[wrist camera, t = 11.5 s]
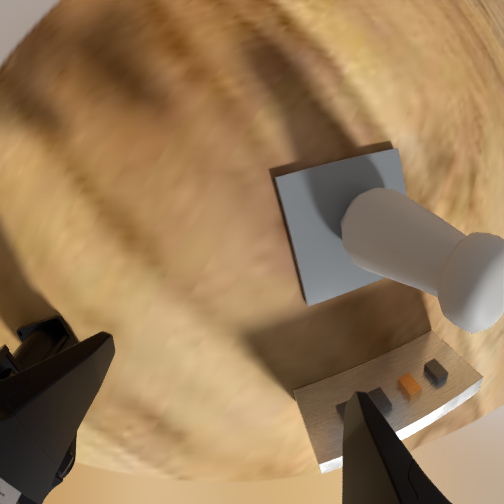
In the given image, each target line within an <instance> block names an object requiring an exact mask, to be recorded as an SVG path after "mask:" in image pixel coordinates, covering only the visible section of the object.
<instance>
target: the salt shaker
mask: <svg viewBox="0 0 504 504" xmlns="http://www.w3.org/2000/svg"><path fill="white" fill-rule="evenodd" d="M340 225H341V230H342V241H343V247H344V248H345V250H346V252H347V253H348V255H349V257H350V259H351V260H352V261H353V263H354V264H356V265H358V266H360V267H361V268H363V269H365V270H367V271H369V272H372V273H375V274H378V275H380V276H383V277H386V278H389V279H392V280H395V281H397V282H400V283H403V284H406V285H408V286H411V287H414V288H417V289H419V290H422V291H424V292H427V293H429V294H431V295H434V296H436V297H438V300H439V303H440V307H441V310H442V312H443V314H444V316H445V317H446V318H447V319H448V320H449V321H451V322H452V323H453V324H455V325H456V326H458V327H460V328H461V329H463V330H465V331H467V332H470V333H476V332H479V331H483V330H486V329H488V328H490V327H491V326H492V325H493V324H494V323H496V322H497V321H498V320H499V319H500V317H501V316H502V314H503V313H504V239H502V238H501V237H499V236H497V235H493V234H489V233H478V232H476V233H471V234H469V235H468V236H466V235H464V234H463V233H462V232H460V231H459V230H457V229H456V228H455V227H453V226H452V225H450V224H449V223H447V222H446V221H444V220H443V219H441V218H440V217H438V216H437V215H435V214H434V213H432V212H431V211H429V210H428V209H426V208H424V207H423V206H421V205H420V204H418V203H416V202H415V201H413V200H411V199H410V198H408V197H407V196H405V195H403V194H401V193H400V192H398V191H396V190H395V189H387V188H374V189H371V190H369V191H366V192H364V193H361V194H359V195H358V196H357V197H355V198H354V199H353V200H352V201H351V203H350V204H349V206H348V208H347V210H346V212H345V214H344V215H343V217H342V219H341V221H340Z"/></svg>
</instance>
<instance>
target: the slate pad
mask: <svg viewBox="0 0 504 504" xmlns="http://www.w3.org/2000/svg"><path fill="white" fill-rule="evenodd" d="M274 179H275V183H276V187H277V190H278V194H279V198H280V201H281V205H282V209H283V213H284V216H285V220H286V224H287V228H288V232H289V236H290V240H291V243H292V247H293V251H294V255H295V259H296V264H297V268H298V272H299V276H300V280H301V284H302V288H303V293H304V297H305V301H306V304H307V306H308V307H309V306H311V305H314V304H317V303H320V302H323V301H325V300H328V299H331V298H334V297H336V296H339V295H342V294H345V293H347V292H350V291H353V290H355V289H358V288H360V287H363V286H365V285H368V284H371V283H373V282H376V281H378V280H381V279H383V278H386V277H383V276H380V275H378V274H375V273H372V272H369V271H367V270H365V269H363V268H361V267H360V266H358V265H356V264H354V263H353V261H352V260H351V259H350V257H349V255H348V253H347V252H346V250H345V248H344V247H343V241H342V230H341V225H340V221H341V219H342V217H343V215H344V214H345V212H346V210H347V208H348V206H349V204H350V203H351V201H352V200H353V199H354V198H355V197H357V196H358V195H359V194H361V193H364V192H366V191H369V190H371V189H374V188H387V189H395V190H396V191H398V192H400V193H401V194H403V195H405V196H406V189H405V183H404V177H403V171H402V165H401V160H400V155H399V150H398V148H393V149H388V150H383V151H378V152H373V153H369V154H364V155H360V156H355V157H351V158H347V159H343V160H338V161H334V162H330V163H326V164H322V165H318V166H314V167H310V168H306V169H303V170H299V171H295V172H291V173H288V174H284V175H280V176H277V177H274Z"/></svg>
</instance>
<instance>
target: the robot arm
mask: <svg viewBox="0 0 504 504" xmlns="http://www.w3.org/2000/svg"><path fill="white" fill-rule="evenodd" d="M57 321H59V323H58V322H57ZM17 334H18V336H19V338H20V340H21V341H22V343H21V345H20V346H19V347H18V348H17V349H16V351H15V352H14V353H13V354H11V353H10V351H9V349H8V347H7V346H6V345H3V346H2V347H0V504H42V503H43V501H44V499H45V497H46V496H47V495H48V493H49V492H50V491H51V490H52V489H53V488H54V487H56V486H57V485H59V484H60V483H61V482H62V481H63V478H64V477H66V475H67V474H68V473H69V472H70V470H71V469H72V467H73V465H74V462H75V457H76V437H77V430H78V428H79V426H80V424H81V422H82V420H83V418H84V417H85V415H86V413H87V411H88V409H89V407H90V405H91V404H92V402H93V400H94V398H95V396H96V395H97V393H98V391H99V389H100V387H101V385H102V383H103V380H104V378H105V376H106V373H107V371H108V368H109V366H110V364H111V361H112V359H113V357H114V354H115V346H114V340H113V336H112V334H109V333H107V332H104V331H102V332H99V333H97V334H95V335H93V336H91V337H89V338H87V339H85V340H83V341H81V342H79V343H76V341H75V339H74V338H73V336H72V334H71V333H70V331H69V329H68V327H67V326H66V324H65V322H64V320H63V319H62V318H61V317H60V316H55V317H52V318H48V319H45V320H42V321H39V322H35V323H32V324H29V325H26V326H22V327H20V328H18V330H17ZM342 461H343V493H342V495H343V496H342V504H452V503H451V502H450V501H449V500H448V499H447V498H446V497H445V496H444V495H443V494H442V493H441V492H440V491H439V490H438V488H437V487H436V486H435V485H434V484H433V483H432V482H431V480H430V479H429V478H428V477H427V476H426V474H424V472H423V471H422V469H421V468H420V467H419V465H418V464H417V463H416V461H415V459H413V457H412V455H411V454H410V453H409V451H408V450H407V448H406V447H405V445H404V444H403V443H402V441H401V440H400V438H399V437H398V436H397V434H396V433H395V431H394V430H393V429H392V427H391V426H390V424H389V423H388V422H387V420H386V419H385V417H384V416H383V415H382V413H381V412H380V410H379V409H378V408H377V406H376V405H375V403H374V402H373V401H372V399H371V398H370V396H369V395H368V394H367V393H366V392H363V391H356V392H354V394H353V395H352V397H351V398H350V399H349V401H348V402H347V404H346V407H345V417H344V429H343V441H342Z"/></svg>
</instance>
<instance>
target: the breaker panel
mask: <svg viewBox="0 0 504 504" xmlns="http://www.w3.org/2000/svg"><path fill="white" fill-rule="evenodd" d="M482 380H483V376H482V375H481V374H480V373H479V372H477V371H476V370H475V369H474V368H473V367H472V366H471V365H470V364H469V363H468V362H467V361H466V360H465V359H464V358H463V357H461V356H460V355H459V354H458V353H457V352H456V351H455V350H454V349H453V348H452V347H451V346H449V345H448V344H447V343H446V342H445V341H444V340H443V339H442V338H440V337H439V336H438V335H437V334H436V333H435V332H434V331H433V330H431V331H429V332H427V333H425V334H423V335H422V336H420V337H418V338H416V339H414V340H412V341H410V342H408V343H406V344H404V345H402V346H400V347H398V348H396V349H394V350H392V351H390V352H388V353H385V354H383V355H381V356H379V357H377V358H375V359H372V360H370V361H368V362H365V363H363V364H361V365H358V366H356V367H354V368H351V369H349V370H346V371H344V372H341V373H339V374H336V375H334V376H331V377H328V378H326V379H323V380H320V381H318V382H315V383H312V384H309V385H306V386H303V387H300V388H297V389H294V390H293V393H294V396H295V399H296V402H297V405H298V408H299V411H300V414H301V417H302V420H303V422H304V425H305V428H306V431H307V434H308V437H309V439H310V442H311V445H312V448H313V451H314V454H315V456H316V459H317V462H318V465H319V468H320V470H321V473H322V474H323V473H326V472H329V471H332V470H334V469H337V468H340V467H342V466H343V461H342V441H343V429H344V417H345V407H346V404H347V402H348V401H349V399H350V398H351V397H352V395H353V394H354V392H356V391H363V392H366V393H367V394H368V395H369V396H370V398H371V399H372V401H373V402H374V403H375V405H376V406H377V408H378V409H379V410H380V412H381V413H382V415H383V416H384V417H385V419H386V420H387V422H388V423H389V424H390V426H391V427H392V429H393V430H394V431H395V433H396V434H397V436H398V437H399V438H400V440H402V439H404V438H406V437H408V436H410V435H412V434H414V433H415V432H417V431H419V430H421V429H422V428H424V427H426V426H428V425H429V424H431V423H433V422H434V421H436V420H437V419H439V418H441V417H442V416H444V415H445V414H447V413H448V412H450V411H451V410H453V409H454V408H456V407H457V406H459V405H460V404H462V403H463V402H464V401H466V400H467V399H469V398H470V397H471V396H473V395H474V394H475V393H477V392H478V391H479V388H480V386H481V383H482Z"/></svg>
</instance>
